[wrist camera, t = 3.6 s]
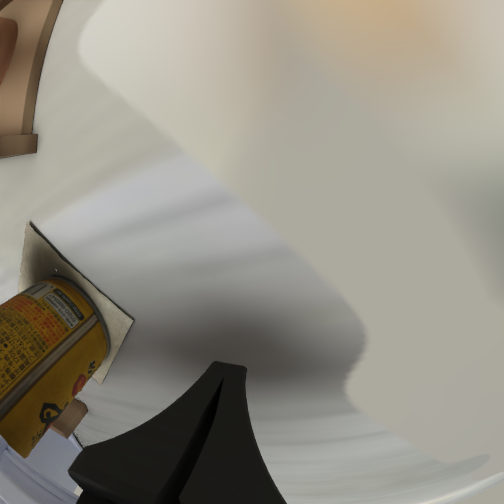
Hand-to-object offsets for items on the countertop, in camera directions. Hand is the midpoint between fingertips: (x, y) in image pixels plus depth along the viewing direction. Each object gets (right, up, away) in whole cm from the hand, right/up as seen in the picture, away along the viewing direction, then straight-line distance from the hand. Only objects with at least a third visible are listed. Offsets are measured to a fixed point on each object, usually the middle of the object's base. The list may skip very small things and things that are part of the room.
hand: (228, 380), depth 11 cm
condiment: (-10, +2, +3) cm, 11 cm away
